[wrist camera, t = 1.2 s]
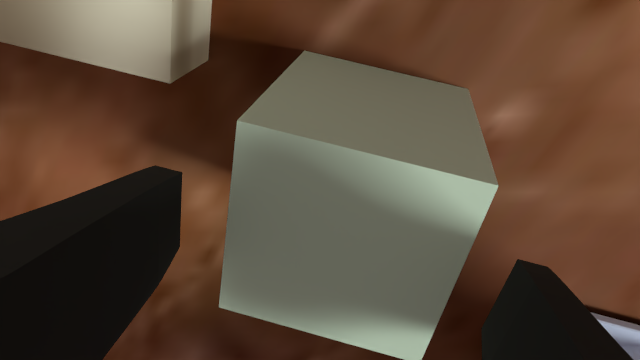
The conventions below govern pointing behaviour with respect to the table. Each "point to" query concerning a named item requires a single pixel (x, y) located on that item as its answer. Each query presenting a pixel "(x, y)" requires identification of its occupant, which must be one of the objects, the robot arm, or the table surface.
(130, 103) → the table surface
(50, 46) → the cream block
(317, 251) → the sage block
